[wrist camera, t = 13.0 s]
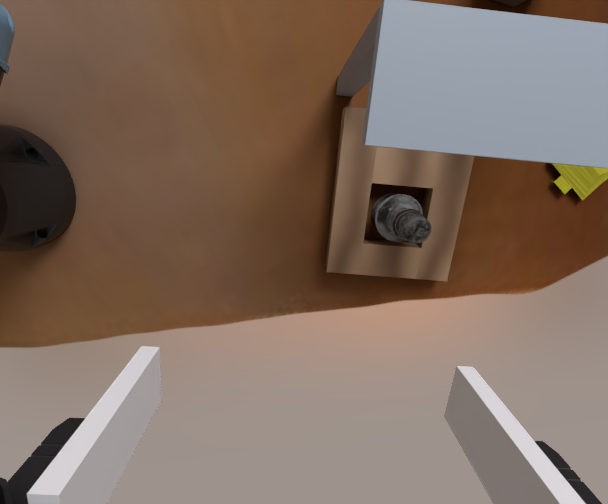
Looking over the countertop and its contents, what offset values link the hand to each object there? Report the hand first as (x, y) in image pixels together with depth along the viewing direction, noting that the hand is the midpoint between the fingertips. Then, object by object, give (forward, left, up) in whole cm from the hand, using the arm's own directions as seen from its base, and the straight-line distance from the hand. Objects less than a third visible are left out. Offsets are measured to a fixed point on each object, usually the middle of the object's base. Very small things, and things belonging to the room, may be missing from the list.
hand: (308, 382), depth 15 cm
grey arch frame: (+12, +14, -32) cm, 37 cm away
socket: (+12, +5, -32) cm, 34 cm away
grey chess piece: (+12, +3, -32) cm, 34 cm away
